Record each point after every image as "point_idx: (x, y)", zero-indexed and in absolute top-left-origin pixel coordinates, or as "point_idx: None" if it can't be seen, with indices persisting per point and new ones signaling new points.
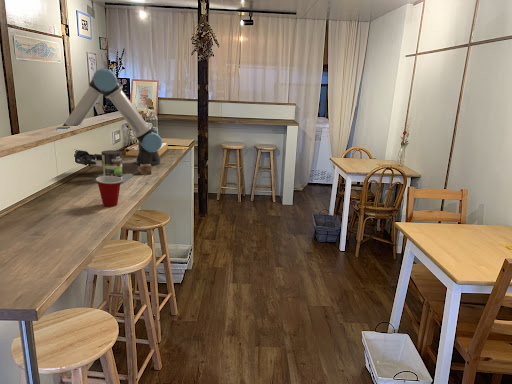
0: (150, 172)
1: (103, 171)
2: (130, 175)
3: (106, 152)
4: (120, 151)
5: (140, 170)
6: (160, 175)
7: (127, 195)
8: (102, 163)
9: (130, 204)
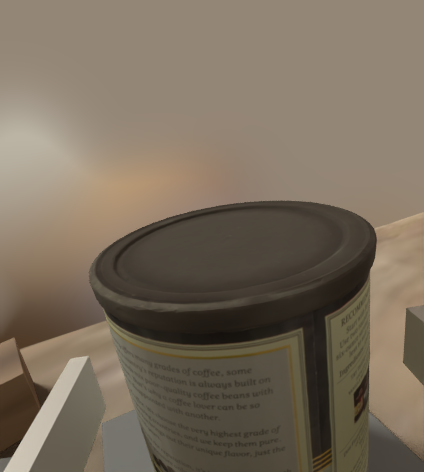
0: (29, 374)
1: (368, 460)
2: (133, 417)
3: (293, 241)
4: (140, 231)
5: (35, 399)
6: (57, 341)
7: (377, 254)
8: (365, 406)
9: (406, 223)
